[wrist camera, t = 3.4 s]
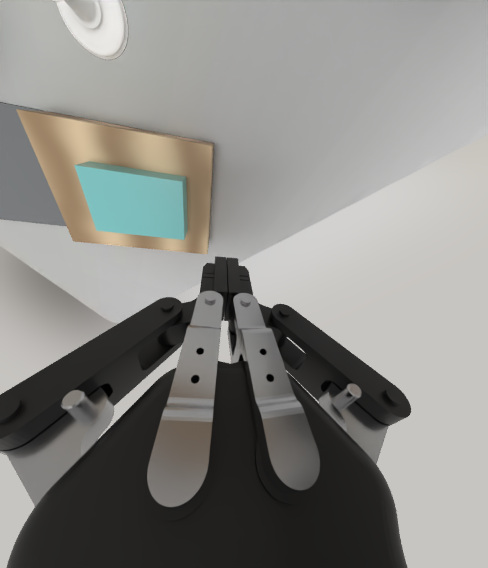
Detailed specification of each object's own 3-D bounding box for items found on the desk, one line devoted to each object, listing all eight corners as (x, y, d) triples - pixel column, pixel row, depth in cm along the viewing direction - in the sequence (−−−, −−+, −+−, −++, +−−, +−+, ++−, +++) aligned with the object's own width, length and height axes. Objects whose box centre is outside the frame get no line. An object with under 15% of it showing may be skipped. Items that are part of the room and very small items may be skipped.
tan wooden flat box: (213, 143, 21) (212, 146, 18) (209, 240, 29) (207, 254, 26) (50, 112, 19) (15, 109, 16) (91, 227, 26) (73, 241, 23)
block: (186, 176, 20) (182, 181, 18) (187, 231, 23) (184, 240, 22) (89, 161, 18) (74, 165, 16) (107, 222, 22) (96, 230, 20)
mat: (44, 110, 19) (41, 110, 18) (87, 227, 26) (85, 228, 26) (-85, 86, 17) (-89, 85, 17) (0, 218, 24) (-3, 218, 24)
